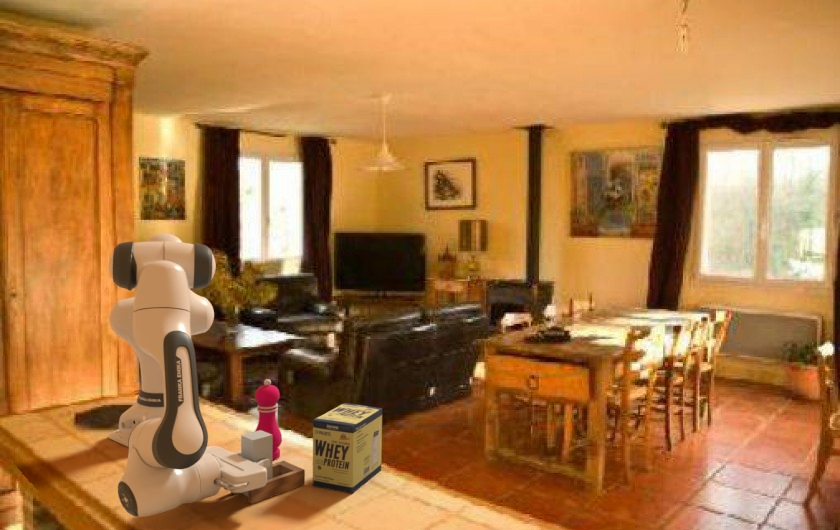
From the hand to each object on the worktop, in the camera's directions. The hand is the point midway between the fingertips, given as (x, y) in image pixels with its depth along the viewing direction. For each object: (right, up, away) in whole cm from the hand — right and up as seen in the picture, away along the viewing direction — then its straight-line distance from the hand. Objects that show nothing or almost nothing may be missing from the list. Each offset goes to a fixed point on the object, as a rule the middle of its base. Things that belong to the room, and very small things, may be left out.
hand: (260, 458), depth 146 cm
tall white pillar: (-1, -8, 0) cm, 8 cm away
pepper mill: (-3, -6, +21) cm, 22 cm away
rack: (+1, -7, +2) cm, 8 cm away
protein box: (+18, -7, +9) cm, 22 cm away
